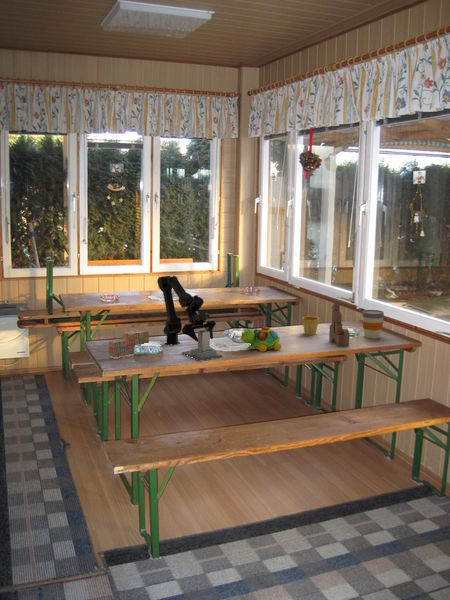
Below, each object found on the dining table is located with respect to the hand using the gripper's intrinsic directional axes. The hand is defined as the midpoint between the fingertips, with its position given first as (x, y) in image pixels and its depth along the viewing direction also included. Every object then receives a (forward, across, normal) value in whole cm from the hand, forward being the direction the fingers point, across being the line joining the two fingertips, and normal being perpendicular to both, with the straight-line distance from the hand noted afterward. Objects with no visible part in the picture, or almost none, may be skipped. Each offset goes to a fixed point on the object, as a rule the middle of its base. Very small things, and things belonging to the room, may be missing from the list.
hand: (205, 340), depth 335 cm
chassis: (+4, 0, +9) cm, 10 cm away
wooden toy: (+21, +78, -8) cm, 81 cm away
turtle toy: (+9, +35, +4) cm, 36 cm away
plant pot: (+2, +80, +11) cm, 81 cm away
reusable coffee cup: (+20, +106, -8) cm, 108 cm away
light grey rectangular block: (+5, 0, +7) cm, 8 cm away
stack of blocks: (-12, -31, +26) cm, 42 cm away
